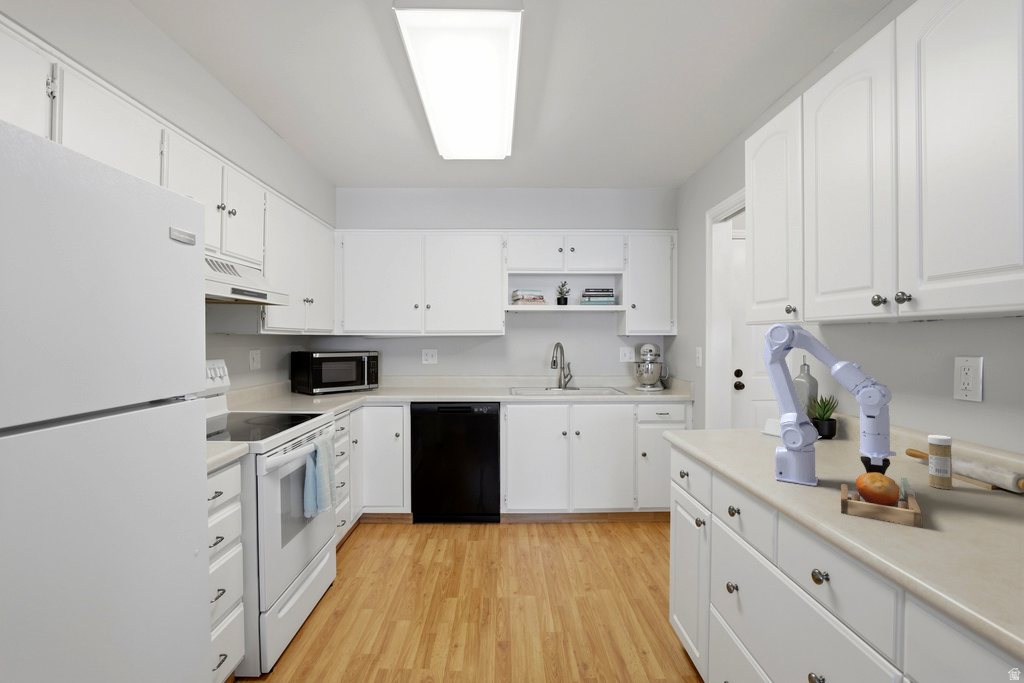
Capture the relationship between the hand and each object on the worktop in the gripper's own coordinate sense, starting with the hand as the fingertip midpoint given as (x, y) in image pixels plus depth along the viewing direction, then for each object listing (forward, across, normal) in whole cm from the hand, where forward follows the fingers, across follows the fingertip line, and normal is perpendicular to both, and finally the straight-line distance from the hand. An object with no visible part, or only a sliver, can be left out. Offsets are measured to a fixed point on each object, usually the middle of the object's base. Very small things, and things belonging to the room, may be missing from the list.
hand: (875, 487), depth 108 cm
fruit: (+3, -5, 0) cm, 6 cm away
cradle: (+2, -10, 0) cm, 11 cm away
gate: (+2, +3, -6) cm, 7 cm away
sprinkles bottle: (+3, +19, -14) cm, 23 cm away
